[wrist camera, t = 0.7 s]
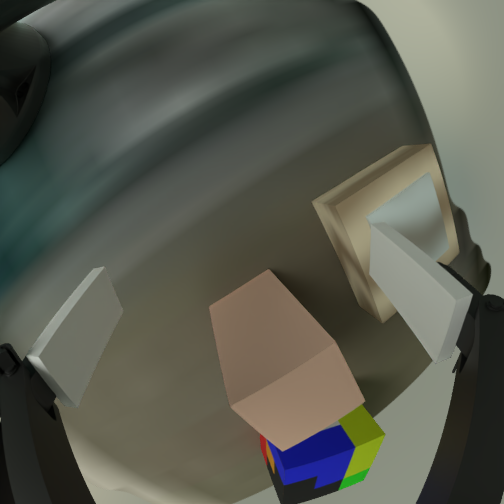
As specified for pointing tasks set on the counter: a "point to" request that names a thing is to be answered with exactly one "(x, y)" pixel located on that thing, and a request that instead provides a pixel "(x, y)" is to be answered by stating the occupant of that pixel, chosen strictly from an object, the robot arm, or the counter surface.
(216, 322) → the pillar block
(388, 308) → the pedestal
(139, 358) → the counter surface
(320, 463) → the puzzle toy
